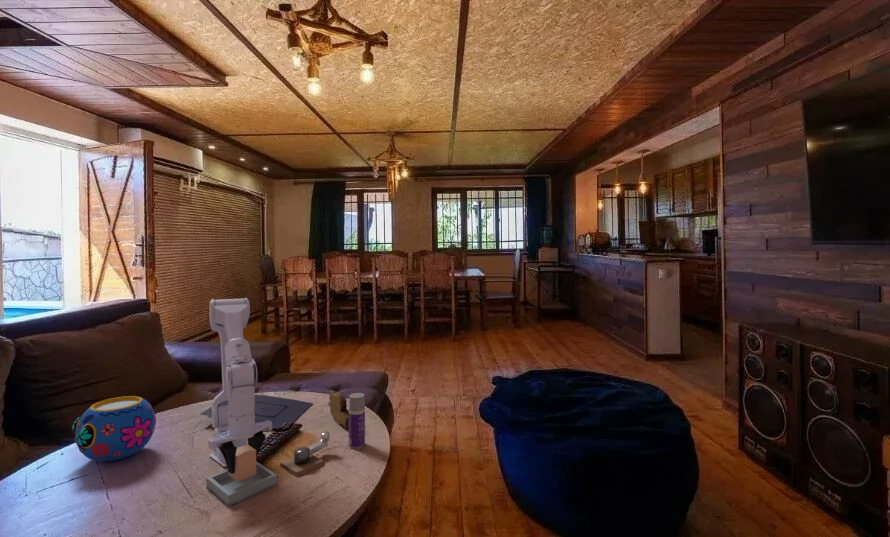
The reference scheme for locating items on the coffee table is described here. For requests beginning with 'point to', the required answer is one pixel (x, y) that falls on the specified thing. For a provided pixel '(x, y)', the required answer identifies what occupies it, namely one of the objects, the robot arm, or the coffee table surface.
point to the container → (356, 420)
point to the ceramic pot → (114, 428)
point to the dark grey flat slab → (273, 410)
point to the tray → (240, 485)
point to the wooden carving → (339, 409)
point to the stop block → (244, 463)
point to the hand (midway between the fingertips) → (242, 467)
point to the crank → (310, 449)
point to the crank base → (301, 465)
